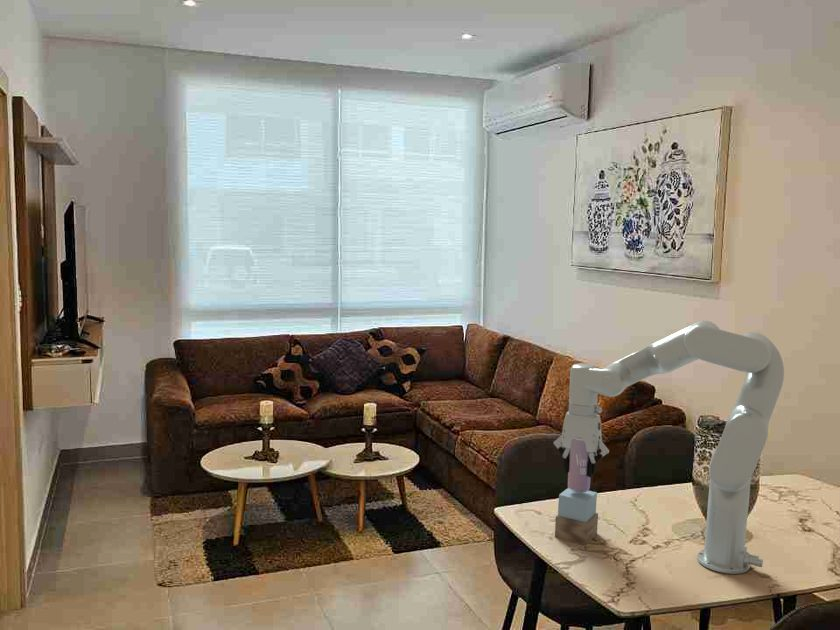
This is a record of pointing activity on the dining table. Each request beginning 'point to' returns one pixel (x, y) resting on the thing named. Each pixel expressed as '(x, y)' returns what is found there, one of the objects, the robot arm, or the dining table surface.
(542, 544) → the dining table surface
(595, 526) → the base block
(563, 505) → the top block
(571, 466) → the beverage can
